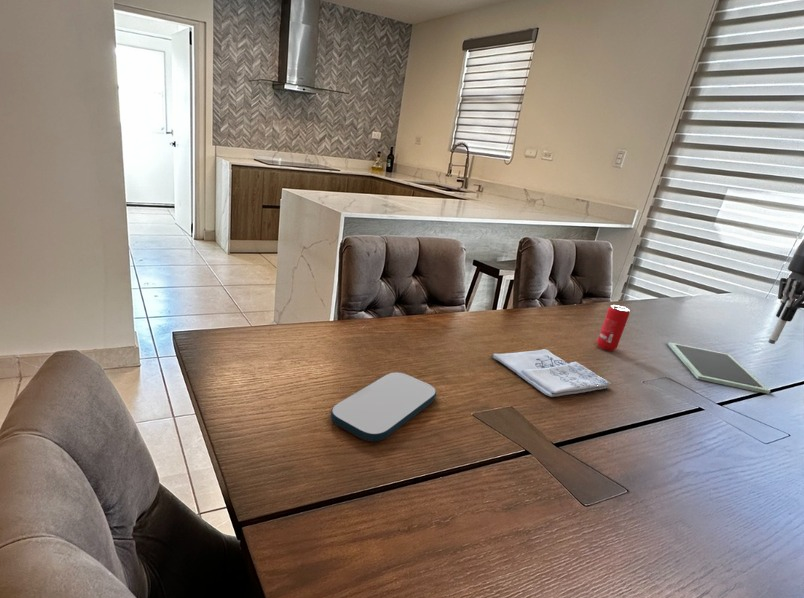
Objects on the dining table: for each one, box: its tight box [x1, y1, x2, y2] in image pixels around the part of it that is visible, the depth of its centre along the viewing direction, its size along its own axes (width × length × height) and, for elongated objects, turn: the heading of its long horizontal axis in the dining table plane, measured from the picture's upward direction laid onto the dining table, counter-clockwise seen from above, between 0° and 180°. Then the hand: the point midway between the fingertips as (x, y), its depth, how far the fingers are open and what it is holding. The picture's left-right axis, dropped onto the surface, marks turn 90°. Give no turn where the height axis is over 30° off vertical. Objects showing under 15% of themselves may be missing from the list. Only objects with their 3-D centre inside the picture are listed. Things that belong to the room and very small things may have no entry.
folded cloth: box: [492, 348, 612, 398], centre depth 112 cm, size 19×20×2 cm
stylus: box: [767, 300, 789, 345], centre depth 125 cm, size 2×2×12 cm
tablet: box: [667, 341, 771, 395], centre depth 128 cm, size 16×23×1 cm
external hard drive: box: [330, 371, 437, 443], centre depth 90 cm, size 24×12×2 cm, turn 143°
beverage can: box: [596, 304, 630, 352], centre depth 130 cm, size 5×5×12 cm
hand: (783, 318), depth 125 cm, fingers closed on stylus, 2 cm apart
